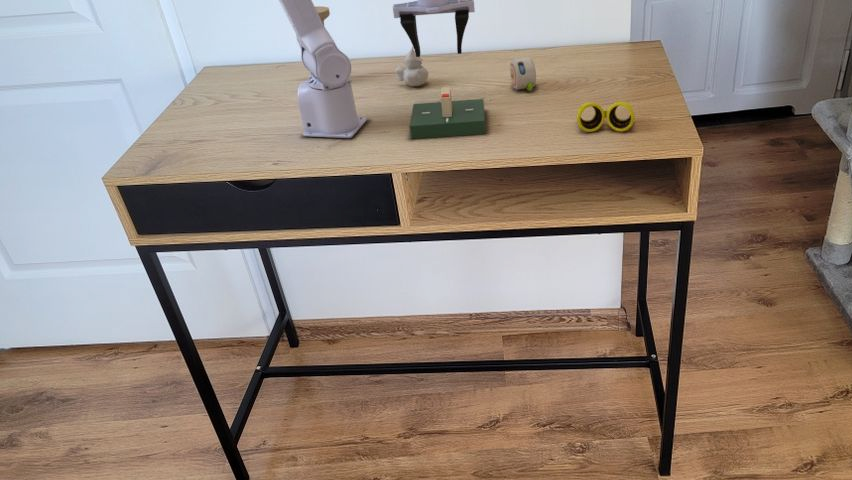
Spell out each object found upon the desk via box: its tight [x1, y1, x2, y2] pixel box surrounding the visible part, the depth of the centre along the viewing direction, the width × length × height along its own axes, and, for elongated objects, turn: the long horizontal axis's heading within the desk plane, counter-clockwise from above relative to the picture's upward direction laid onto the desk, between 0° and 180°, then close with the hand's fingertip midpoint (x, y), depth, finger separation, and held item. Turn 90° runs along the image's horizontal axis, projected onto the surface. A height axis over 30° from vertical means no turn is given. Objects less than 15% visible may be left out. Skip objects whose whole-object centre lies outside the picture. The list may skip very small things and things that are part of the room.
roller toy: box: [509, 57, 537, 92], centre depth 146 cm, size 4×6×6 cm
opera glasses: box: [576, 101, 636, 133], centre depth 129 cm, size 10×5×5 cm, turn 84°
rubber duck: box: [394, 46, 429, 87], centre depth 150 cm, size 5×7×8 cm
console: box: [409, 98, 486, 140], centre depth 134 cm, size 13×10×3 cm
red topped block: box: [440, 86, 453, 117], centre depth 132 cm, size 5×2×4 cm, turn 2°
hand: (439, 53), depth 139 cm, fingers open, 7 cm apart
